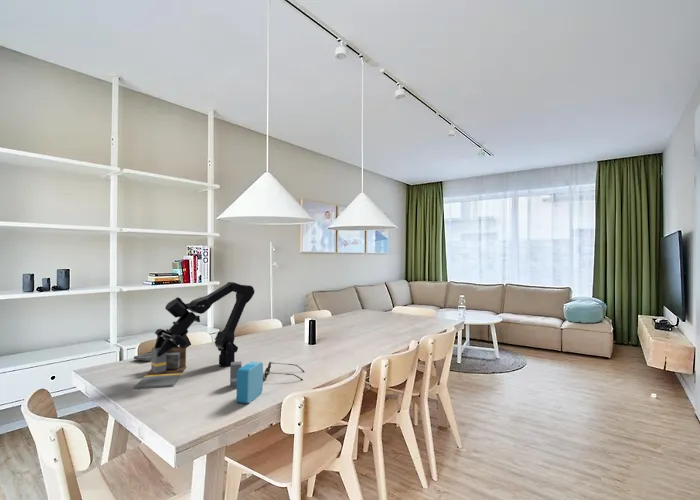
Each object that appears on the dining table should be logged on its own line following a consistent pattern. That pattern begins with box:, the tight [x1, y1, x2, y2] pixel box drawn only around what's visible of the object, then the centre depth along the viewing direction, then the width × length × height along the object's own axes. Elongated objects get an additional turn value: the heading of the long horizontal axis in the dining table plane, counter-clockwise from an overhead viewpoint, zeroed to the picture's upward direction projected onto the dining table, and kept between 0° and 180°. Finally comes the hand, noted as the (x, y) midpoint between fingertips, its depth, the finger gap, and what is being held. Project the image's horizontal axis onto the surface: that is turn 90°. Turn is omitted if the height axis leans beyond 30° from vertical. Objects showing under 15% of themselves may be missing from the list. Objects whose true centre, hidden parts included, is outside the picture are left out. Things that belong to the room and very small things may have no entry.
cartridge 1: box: [151, 347, 166, 373], centre depth 151 cm, size 4×4×9 cm
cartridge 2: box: [229, 361, 243, 389], centre depth 147 cm, size 4×4×9 cm
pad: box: [133, 373, 182, 390], centre depth 151 cm, size 14×14×1 cm
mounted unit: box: [147, 346, 187, 375], centre depth 165 cm, size 14×7×10 cm, turn 103°
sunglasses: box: [264, 361, 305, 381], centre depth 160 cm, size 14×16×5 cm
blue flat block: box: [235, 361, 264, 404], centre depth 135 cm, size 12×4×12 cm, turn 168°
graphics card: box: [133, 350, 152, 362], centre depth 185 cm, size 17×4×12 cm
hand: (155, 355), depth 150 cm, fingers closed on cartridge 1, 4 cm apart
